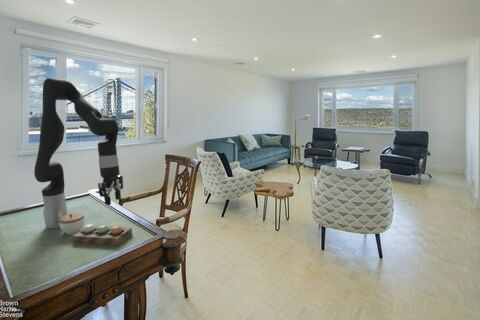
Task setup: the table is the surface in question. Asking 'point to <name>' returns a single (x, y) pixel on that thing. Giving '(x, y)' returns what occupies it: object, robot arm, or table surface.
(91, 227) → the button ivory
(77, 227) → the lidded jar
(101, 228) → the button sage
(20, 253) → the table surface
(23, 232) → the table surface
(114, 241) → the wooden tray
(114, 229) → the button terracotta
